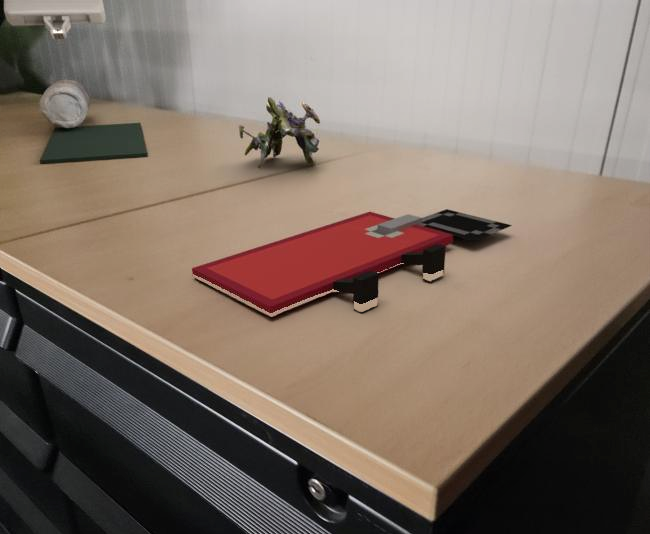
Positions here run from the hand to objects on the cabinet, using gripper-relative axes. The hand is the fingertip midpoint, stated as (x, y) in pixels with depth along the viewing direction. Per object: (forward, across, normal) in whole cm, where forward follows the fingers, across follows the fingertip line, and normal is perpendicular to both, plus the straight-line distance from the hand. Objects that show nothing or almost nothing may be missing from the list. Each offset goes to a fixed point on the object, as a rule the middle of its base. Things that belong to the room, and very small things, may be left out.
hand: (59, 37), depth 132 cm
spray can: (+14, 0, +2) cm, 14 cm away
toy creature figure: (+57, +33, -35) cm, 74 cm away
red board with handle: (+84, +32, -62) cm, 110 cm away
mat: (+37, +6, -15) cm, 41 cm away
